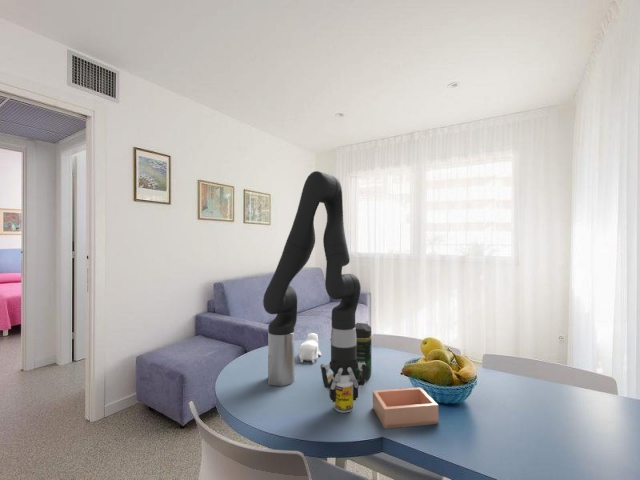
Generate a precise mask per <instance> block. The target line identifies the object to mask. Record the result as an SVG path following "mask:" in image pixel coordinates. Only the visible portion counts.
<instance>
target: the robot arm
mask: <svg viewBox="0 0 640 480" xmlns="http://www.w3.org/2000/svg"><path fill="white" fill-rule="evenodd" d="M342 188H343V187H342V184H341V181H340V179H339V178H337V176H334V175H332V174H329V173H328V174H327V173H325V172H322V171H319V170H317V171H312V172H311V173H310V174H308V176H307V178H306V180H305V181H304V185H303V187H302V191H301V194H300V198H299V203H298V206H297V210H296V214H295V217H294V220H293V223H292V225H291V228H290V230H289V234H288V237H287V239H286V241H285V244H284V247H283V251H282V253H281V256H280V258H279V260H278V263H277V266H276V268H275V270H274V271H275V272H274V273H273V276H272V277H271V279H270V282H269V283H268V286H267V287H266V290H265V293H264V295H263V299H262V303H263V304H262V305H263V308H264V311H265V312H266V313H267V314H269V315H276V316H275V317H274V319H273V320H272V321H270V322H269V323H268V328H267V329H268V331H267V332H268V333H267V334H268V336H267V337H268V339H267V340H268V343H267V344H268V345H267V346H268V347H267V348H268V349H267V351H268V354H267V356H268V357H267V385H272V386H277V387H283V386H284V387H285V386H288V385H291V384H292V383H294V381H295V375H296V374H295V327H296V325H297V319H298V318H297V317H298V316H297V315H298V295H297V292H296V290H295V289H294V287H293V286H291V285H290V284H291V282H292V281H293V279H294V278H295V277H296V276H297V275H299V274H298V273H300V271H302V269H303V268H304V267H305V265H306V264H307V263H308V262H309V260H310V258H311V254H312V252H313V250H314V247H315V245H316V232H315V231H316V230H315V224H314V223H315V216H316V213H317V209H318V208H319V204H320V203H321V204H324V208H325V211H326V223H325V224H326V225H325V229H324V233H323V238H322V240H323V241H322V243H323V244H322V245H323V250H324V255H325V256H324V257H325V261H326V267H325V278H324V279H325V280H324V281H325V282H324V283H325V285H324V286H325V291H326V293H327V295H328V296H329V297H330V298H331V299H333V300H336V301H337V300H340V303H339V304H338V305H336V306H334V307H333V308H332V310H331V330H330V361H329V363H328V364H324V363H322V364H320V372H321V378H322V383H323V386H324V388H326V389H329V399H330V401H331V402H332V403H334V402H335V386H336V384H337V382H338V380H339V378H340V375H350V377H351V380H352V382H353V401H357V399H358V397H359V387H361V386H364V385H365V382H366V379H365V378H366V372H367V365H366V364H365V363H364V362H362V363H358V362H357V360H356V359H357V357H356V328H355V324H356V312H357V308H358V305H359V300H360V295H361V291H362V290H361V283H360V282H361V281H360V279H359V277H358V276H357V275H355V274H353V273H344V274H343V273H342V272H343V267H346V266H347V265H349V264H350V261H351V259H350V253H349V248H348V244H347V239H346V234H345V233H346V232H345V225H344V222H345V221H344V209H343V208H344V206H343V189H342ZM357 367H359V370H360V373H359V379H358V380H356V378H355V376H354V372H355V370H356V369H357ZM329 370H330V371H332V373H331V374H332V378H331V380H330V382H329V381H328V379H327V377H328V373H329Z"/></svg>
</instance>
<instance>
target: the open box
mask: <svg viewBox="0 0 640 480" xmlns="http://www.w3.org/2000/svg"><path fill="white" fill-rule="evenodd" d="M372 409H373V410H374V413H375V414H376V416H377V418H378V419H379V421H380V423H381V425H382V426H383V428H384V429H396V428H405V427H406V428H407V427H417V426H428V425H438V424H439V404H438V403H437V401H435V400H434V399H433V398H432V397H431V396H430V395H429V394H428V393H427V392H426V390H424V389H423V388H422V387H408V388H395V389H394V388H393V389H381V390H379V389H377V390H372Z"/></svg>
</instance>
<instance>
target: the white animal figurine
mask: <svg viewBox="0 0 640 480" xmlns="http://www.w3.org/2000/svg"><path fill="white" fill-rule="evenodd" d="M319 356H320V357H322V352H321V350H320V347H319V336H318V334H317V333H312V332H311V333H308V334H307V336H306V340H305V341H304V342H302V343H301V345H300V346H299V349H298V357H299V362H300V363H304V361H306V362H307V361H311V363H312V364H315V360H316V359H318V358H319Z"/></svg>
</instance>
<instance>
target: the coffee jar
mask: <svg viewBox="0 0 640 480" xmlns="http://www.w3.org/2000/svg"><path fill="white" fill-rule="evenodd" d="M355 328H356V357H357V359H356V360H357V362H358V363H362V362H364V363H365V364H366V365H367V372H366V378H365V380H369V379H370V378H371V376H372V348H373V347H372V346H373V345H372V344H373V343H372V327H371V326H370V325H369V324H368V323H364V322H357V323H355ZM359 373H360V370H359V367H357V369H356V370H355V372H354V376H355V378H356V380H358V379H359Z"/></svg>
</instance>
